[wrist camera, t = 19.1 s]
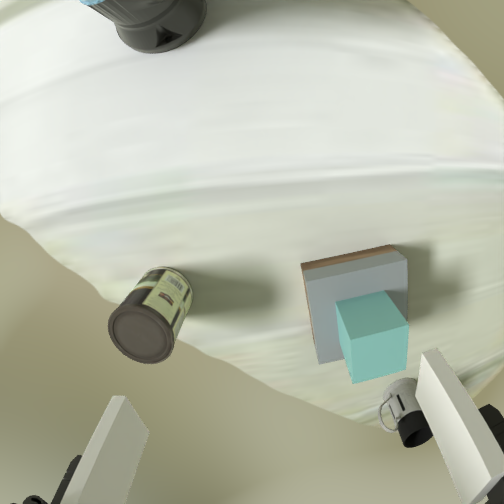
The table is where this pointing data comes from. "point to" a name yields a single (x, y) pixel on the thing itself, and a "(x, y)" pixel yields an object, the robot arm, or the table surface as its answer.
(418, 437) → the grey black mug
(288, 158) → the table surface
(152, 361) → the coffee can
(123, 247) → the table surface
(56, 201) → the table surface
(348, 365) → the teal block
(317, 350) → the grey slab
